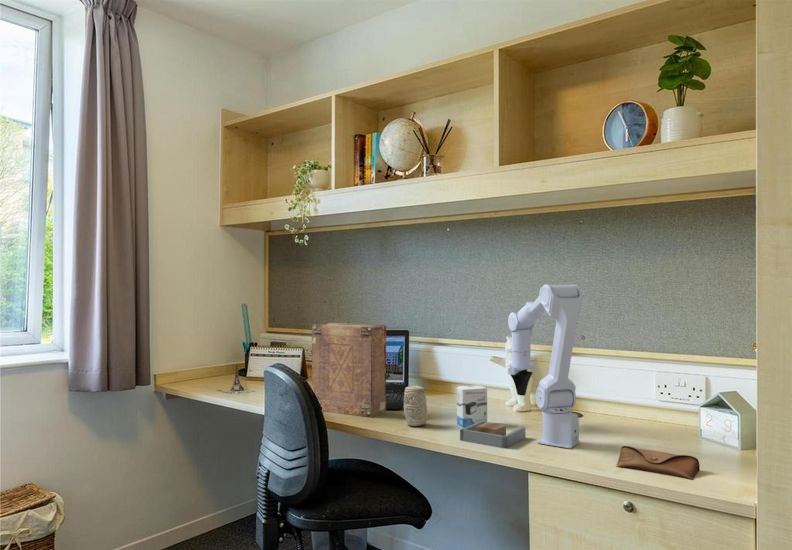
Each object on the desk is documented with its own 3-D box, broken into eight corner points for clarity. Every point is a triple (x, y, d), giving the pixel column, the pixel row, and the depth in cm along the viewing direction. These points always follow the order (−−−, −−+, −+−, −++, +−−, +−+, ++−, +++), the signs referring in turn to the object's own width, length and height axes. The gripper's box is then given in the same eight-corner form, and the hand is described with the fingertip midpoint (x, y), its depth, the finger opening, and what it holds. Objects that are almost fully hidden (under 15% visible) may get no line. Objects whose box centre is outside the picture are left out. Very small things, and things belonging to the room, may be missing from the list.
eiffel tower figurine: (214, 391, 245) (214, 359, 245) (235, 388, 253) (235, 357, 253) (235, 396, 235) (235, 362, 235) (256, 392, 243) (256, 359, 243)
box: (525, 437, 169) (525, 427, 169) (505, 448, 158) (505, 437, 158) (481, 430, 177) (481, 420, 177) (460, 440, 167) (460, 429, 167)
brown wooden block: (506, 439, 168) (506, 425, 168) (495, 444, 163) (495, 429, 163) (487, 436, 172) (487, 422, 172) (476, 440, 167) (476, 426, 167)
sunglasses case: (612, 466, 142) (615, 439, 145) (618, 474, 147) (621, 448, 150) (695, 480, 132) (697, 451, 135) (699, 488, 137) (700, 460, 140)
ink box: (462, 427, 181) (462, 389, 181) (456, 423, 186) (456, 386, 186) (488, 425, 183) (487, 387, 184) (481, 421, 188) (481, 385, 188)
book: (311, 409, 208) (311, 324, 208) (327, 404, 215) (327, 322, 216) (371, 417, 195) (371, 326, 195) (386, 412, 203) (386, 325, 203)
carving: (407, 422, 188) (407, 384, 188) (430, 424, 186) (430, 385, 186) (400, 426, 182) (400, 387, 183) (423, 428, 180) (423, 389, 180)
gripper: (518, 348, 192) (519, 390, 192) (498, 352, 180) (499, 397, 180) (539, 349, 188) (539, 392, 188) (520, 354, 176) (520, 399, 176)
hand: (521, 394), depth 184 cm, fingers closed
